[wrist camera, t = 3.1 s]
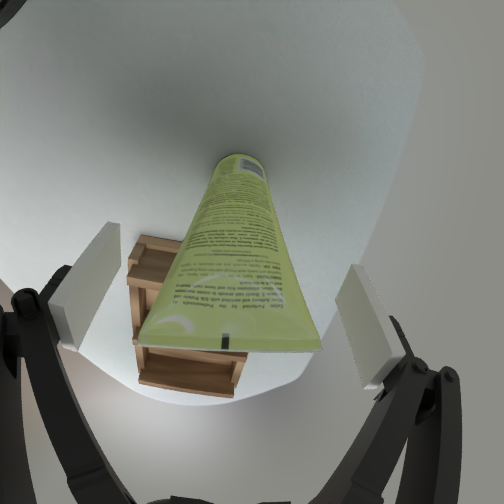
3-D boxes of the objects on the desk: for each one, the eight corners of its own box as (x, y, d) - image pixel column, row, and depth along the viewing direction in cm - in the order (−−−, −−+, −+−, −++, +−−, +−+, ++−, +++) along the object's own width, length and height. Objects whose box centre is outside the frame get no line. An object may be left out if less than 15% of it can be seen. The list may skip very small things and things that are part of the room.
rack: (140, 234, 30) (121, 271, 25) (268, 256, 32) (273, 296, 27) (144, 349, 41) (135, 384, 35) (236, 363, 43) (235, 400, 37)
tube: (231, 215, 29) (220, 398, 13) (196, 179, 27) (133, 346, 11) (277, 180, 27) (324, 351, 11) (242, 140, 25) (239, 276, 9)
